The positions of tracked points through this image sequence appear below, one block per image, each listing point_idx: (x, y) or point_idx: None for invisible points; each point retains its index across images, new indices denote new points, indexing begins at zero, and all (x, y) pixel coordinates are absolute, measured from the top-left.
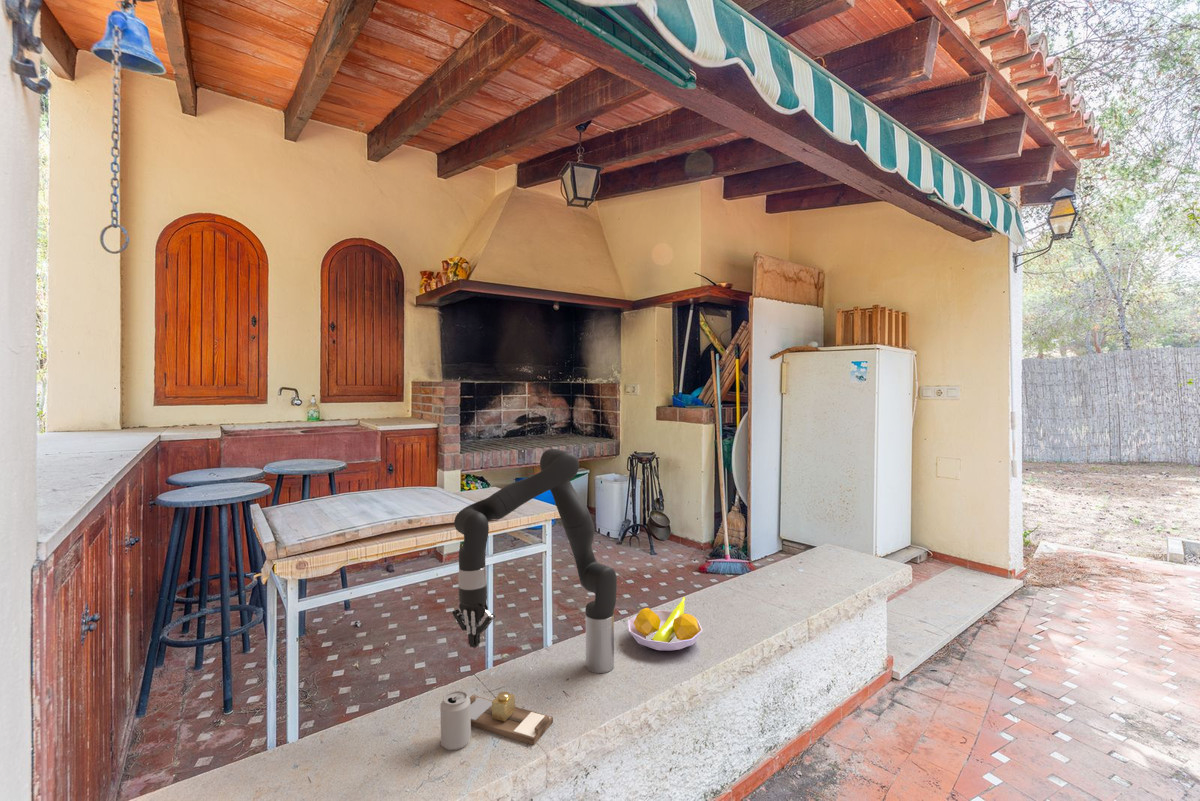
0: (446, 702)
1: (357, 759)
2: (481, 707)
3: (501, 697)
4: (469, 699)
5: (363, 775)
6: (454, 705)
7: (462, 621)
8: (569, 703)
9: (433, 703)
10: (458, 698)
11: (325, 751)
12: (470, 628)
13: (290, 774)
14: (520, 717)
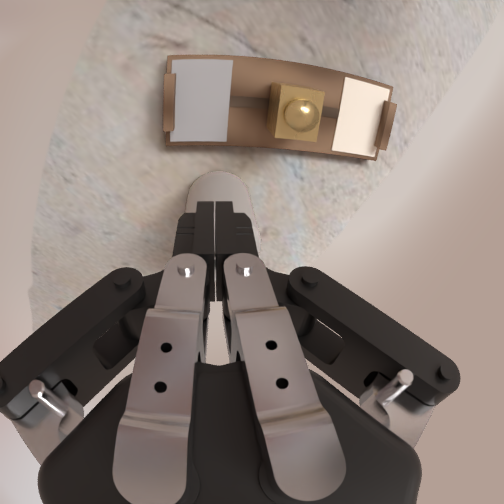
0: (215, 281)
1: None
2: (211, 93)
3: (304, 131)
4: (252, 227)
5: None
6: None
7: (114, 367)
8: (396, 19)
9: (77, 114)
10: None
11: (56, 283)
12: (206, 337)
13: None
14: (327, 99)
